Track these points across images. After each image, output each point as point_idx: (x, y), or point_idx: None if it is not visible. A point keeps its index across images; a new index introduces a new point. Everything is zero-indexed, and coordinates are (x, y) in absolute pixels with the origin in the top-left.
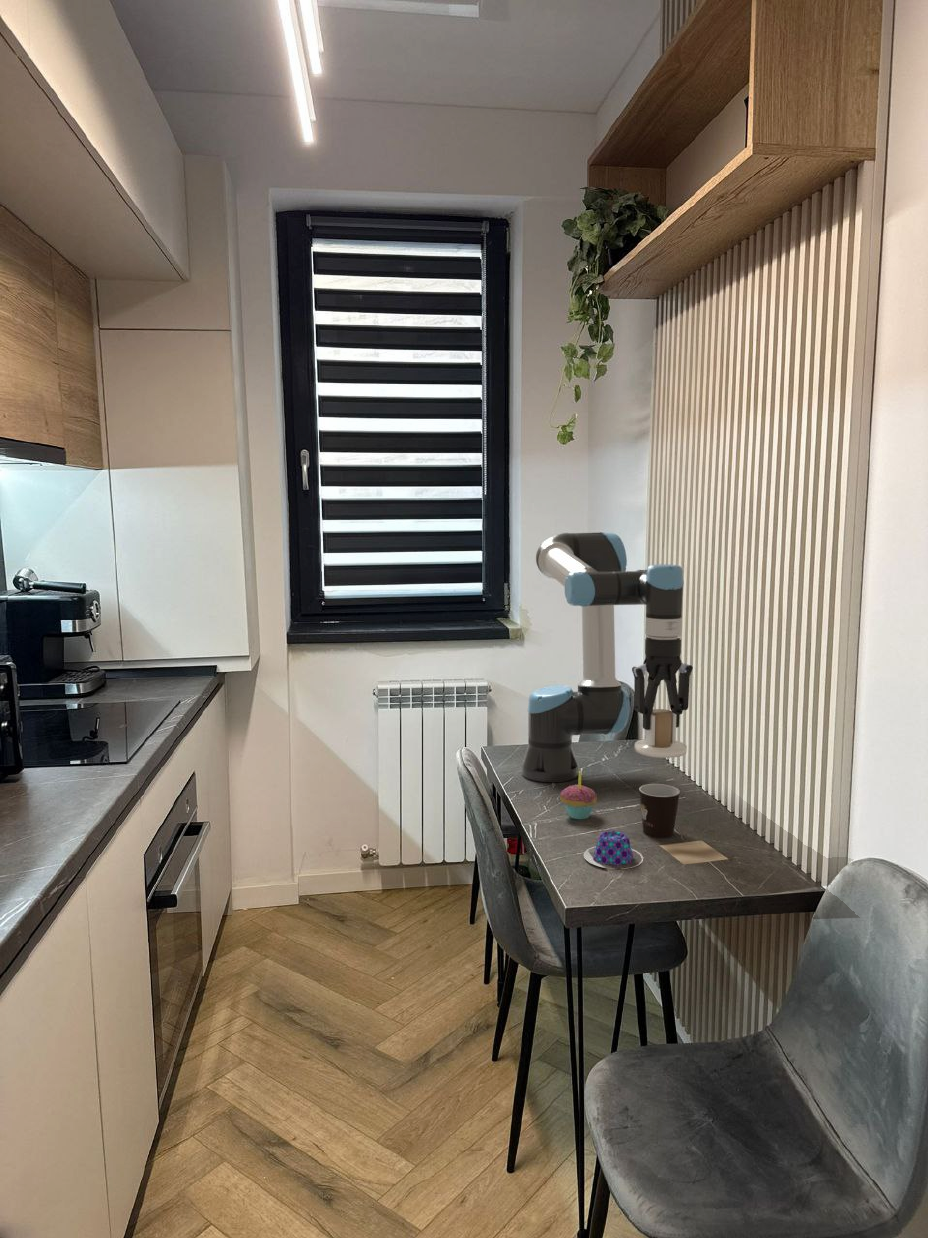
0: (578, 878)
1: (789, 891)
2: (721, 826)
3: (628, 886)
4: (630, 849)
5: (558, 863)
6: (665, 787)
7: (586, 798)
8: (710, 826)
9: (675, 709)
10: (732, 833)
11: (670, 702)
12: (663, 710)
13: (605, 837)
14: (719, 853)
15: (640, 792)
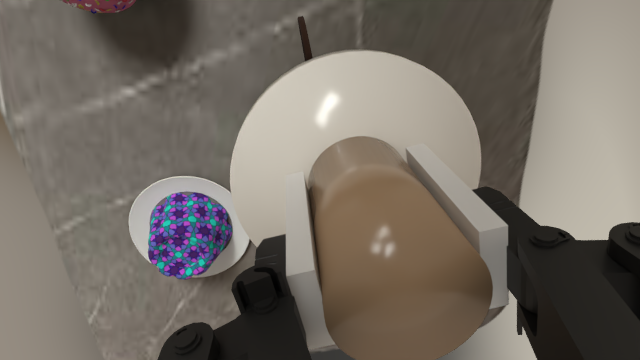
0: (120, 298)
1: None
2: (484, 65)
3: (206, 321)
4: (220, 250)
5: (78, 244)
6: None
7: (109, 5)
8: (458, 64)
9: (525, 328)
10: (485, 110)
11: (545, 316)
12: (439, 280)
13: (163, 247)
14: None
15: None
